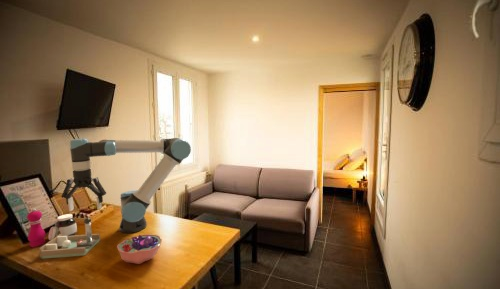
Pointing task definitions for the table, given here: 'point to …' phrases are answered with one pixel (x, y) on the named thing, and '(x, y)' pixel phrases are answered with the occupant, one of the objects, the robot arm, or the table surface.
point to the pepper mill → (35, 229)
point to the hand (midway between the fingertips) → (85, 209)
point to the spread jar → (63, 226)
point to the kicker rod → (87, 235)
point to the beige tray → (52, 252)
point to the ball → (66, 243)
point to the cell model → (139, 248)
